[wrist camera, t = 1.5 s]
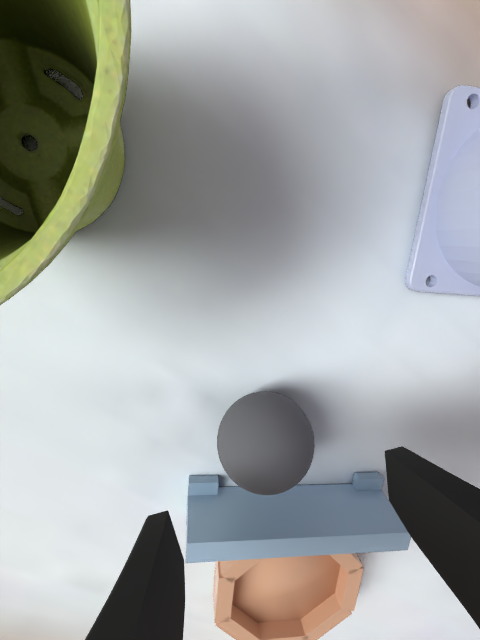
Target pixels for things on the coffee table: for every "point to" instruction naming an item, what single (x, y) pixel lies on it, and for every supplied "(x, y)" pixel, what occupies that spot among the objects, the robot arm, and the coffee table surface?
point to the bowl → (285, 595)
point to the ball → (265, 443)
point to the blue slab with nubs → (290, 520)
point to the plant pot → (58, 125)
